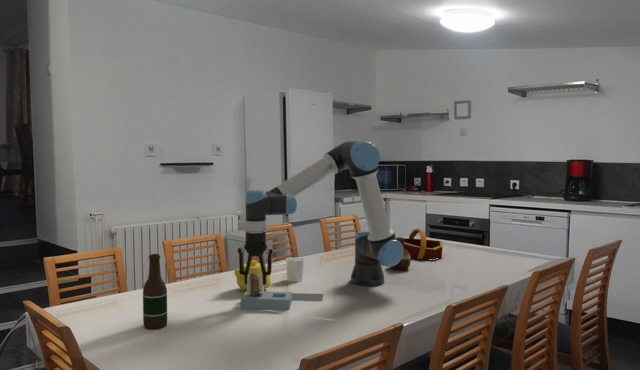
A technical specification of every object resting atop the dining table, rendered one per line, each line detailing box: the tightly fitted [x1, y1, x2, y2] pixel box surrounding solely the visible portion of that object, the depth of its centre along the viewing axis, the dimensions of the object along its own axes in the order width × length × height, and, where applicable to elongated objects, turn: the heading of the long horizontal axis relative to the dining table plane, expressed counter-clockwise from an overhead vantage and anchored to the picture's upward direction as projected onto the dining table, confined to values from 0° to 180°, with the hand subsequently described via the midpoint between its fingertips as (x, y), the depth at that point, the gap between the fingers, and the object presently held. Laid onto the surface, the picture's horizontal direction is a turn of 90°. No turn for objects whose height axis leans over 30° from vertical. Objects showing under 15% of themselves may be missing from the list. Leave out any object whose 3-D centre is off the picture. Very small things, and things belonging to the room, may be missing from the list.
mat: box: [292, 292, 324, 302], centre depth 202 cm, size 14×10×1 cm
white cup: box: [285, 256, 305, 283], centre depth 228 cm, size 8×8×10 cm
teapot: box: [234, 258, 276, 292], centre depth 213 cm, size 13×20×12 cm
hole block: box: [240, 290, 293, 311], centre depth 192 cm, size 18×10×4 cm, turn 87°
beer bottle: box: [142, 253, 168, 331], centre depth 168 cm, size 8×8×24 cm
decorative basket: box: [403, 228, 444, 260], centre depth 290 cm, size 34×29×15 cm
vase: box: [390, 237, 412, 271], centre depth 254 cm, size 11×11×15 cm
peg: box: [250, 273, 260, 297], centre depth 192 cm, size 3×3×12 cm
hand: (255, 292), depth 192 cm, fingers open, 4 cm apart
